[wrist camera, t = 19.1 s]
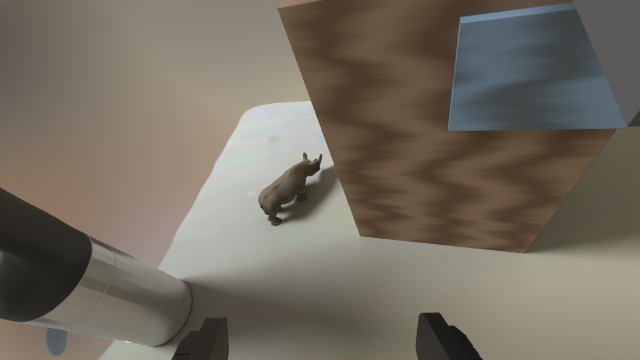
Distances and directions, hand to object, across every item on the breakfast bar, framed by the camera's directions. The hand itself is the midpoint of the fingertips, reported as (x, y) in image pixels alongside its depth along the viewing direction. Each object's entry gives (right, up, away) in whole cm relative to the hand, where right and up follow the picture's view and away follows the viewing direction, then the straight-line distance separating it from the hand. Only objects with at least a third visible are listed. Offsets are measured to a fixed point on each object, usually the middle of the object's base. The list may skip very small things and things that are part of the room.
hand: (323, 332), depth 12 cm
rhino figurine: (-3, +4, +38) cm, 38 cm away
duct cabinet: (+17, +6, +32) cm, 37 cm away
